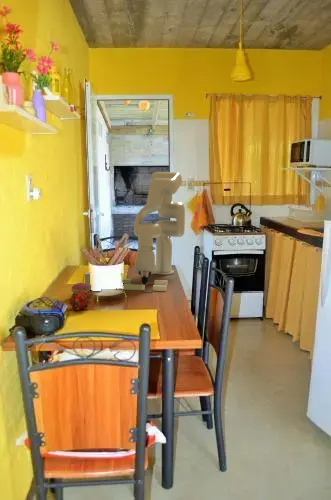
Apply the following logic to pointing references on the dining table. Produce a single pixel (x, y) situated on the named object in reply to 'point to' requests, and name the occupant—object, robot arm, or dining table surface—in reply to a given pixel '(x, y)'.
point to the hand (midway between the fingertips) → (144, 284)
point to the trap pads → (149, 290)
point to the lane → (156, 286)
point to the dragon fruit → (80, 300)
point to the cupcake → (80, 286)
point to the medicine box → (87, 279)
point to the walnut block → (136, 281)
